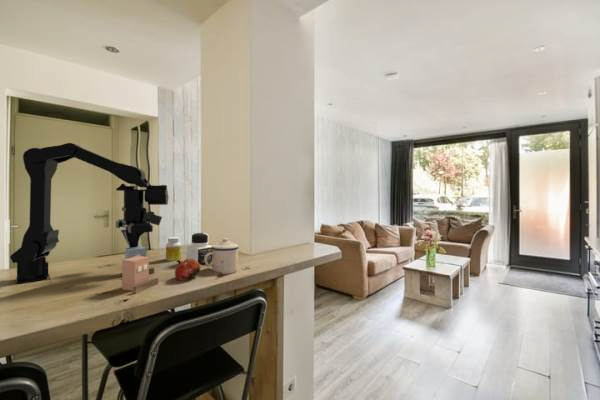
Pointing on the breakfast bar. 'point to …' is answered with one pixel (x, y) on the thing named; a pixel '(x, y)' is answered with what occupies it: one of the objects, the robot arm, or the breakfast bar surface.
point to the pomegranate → (187, 269)
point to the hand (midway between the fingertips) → (133, 251)
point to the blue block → (135, 252)
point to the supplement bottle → (173, 249)
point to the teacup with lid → (223, 257)
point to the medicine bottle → (199, 249)
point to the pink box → (134, 272)
